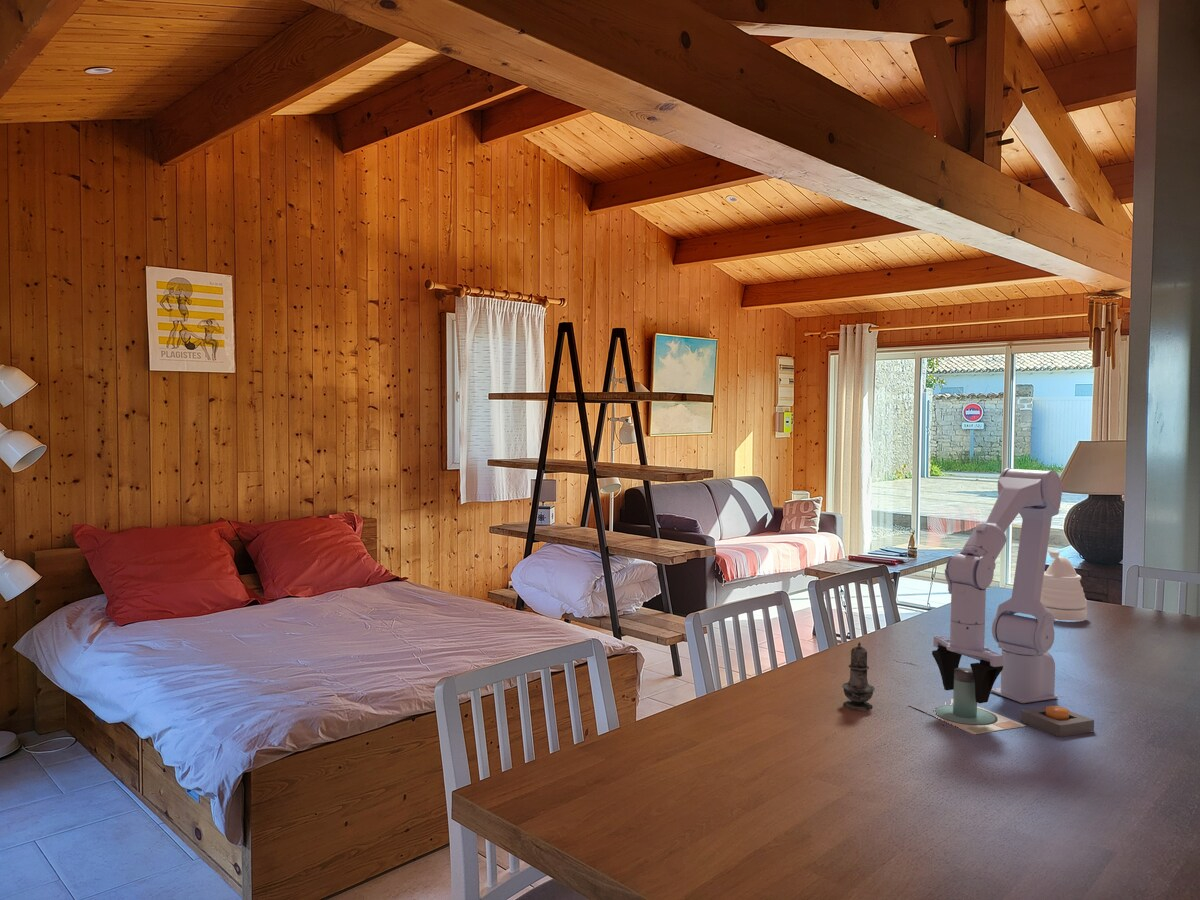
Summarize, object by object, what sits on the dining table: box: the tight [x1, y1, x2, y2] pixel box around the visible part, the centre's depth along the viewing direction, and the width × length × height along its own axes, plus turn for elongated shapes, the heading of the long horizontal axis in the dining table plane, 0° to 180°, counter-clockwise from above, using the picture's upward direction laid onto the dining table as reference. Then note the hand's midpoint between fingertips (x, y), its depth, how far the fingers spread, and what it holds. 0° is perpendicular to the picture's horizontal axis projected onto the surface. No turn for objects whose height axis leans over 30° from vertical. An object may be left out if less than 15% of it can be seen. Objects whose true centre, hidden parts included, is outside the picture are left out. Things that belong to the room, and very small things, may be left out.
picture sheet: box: [933, 698, 1027, 735], centre depth 158 cm, size 12×16×1 cm
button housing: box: [1020, 706, 1095, 738], centre depth 153 cm, size 8×8×2 cm
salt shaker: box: [841, 641, 876, 712], centre depth 162 cm, size 6×6×12 cm
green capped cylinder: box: [952, 667, 978, 718], centre depth 158 cm, size 4×4×8 cm
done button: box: [1045, 705, 1070, 721], centre depth 153 cm, size 4×4×2 cm
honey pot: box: [1040, 550, 1088, 620], centre depth 239 cm, size 13×13×18 cm
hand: (965, 695), depth 158 cm, fingers open, 7 cm apart
